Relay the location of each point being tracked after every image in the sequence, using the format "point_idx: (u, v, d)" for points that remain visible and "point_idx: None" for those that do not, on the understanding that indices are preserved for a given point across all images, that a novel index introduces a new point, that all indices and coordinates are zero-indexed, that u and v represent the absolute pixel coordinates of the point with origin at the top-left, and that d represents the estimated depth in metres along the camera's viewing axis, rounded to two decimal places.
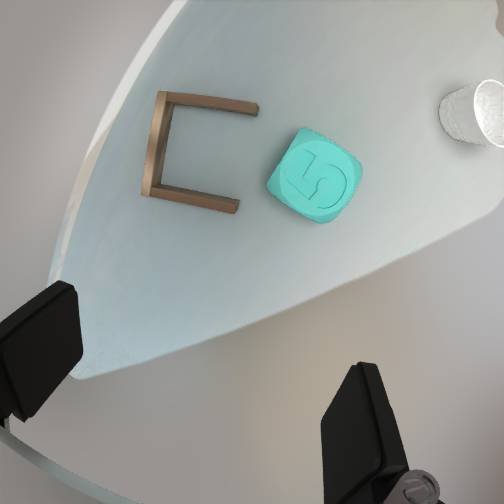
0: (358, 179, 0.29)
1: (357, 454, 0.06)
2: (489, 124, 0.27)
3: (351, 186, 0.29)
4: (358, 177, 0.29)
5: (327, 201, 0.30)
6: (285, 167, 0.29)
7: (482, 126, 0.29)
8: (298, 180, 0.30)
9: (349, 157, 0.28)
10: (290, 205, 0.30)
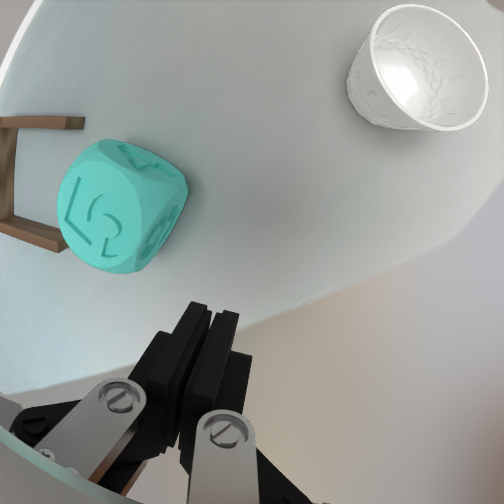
0: (153, 212, 0.19)
1: None
2: (436, 96, 0.17)
3: (137, 224, 0.19)
4: (153, 209, 0.19)
5: (115, 246, 0.20)
6: (60, 203, 0.19)
7: (426, 101, 0.19)
8: (79, 219, 0.20)
9: (132, 180, 0.18)
10: (74, 252, 0.20)
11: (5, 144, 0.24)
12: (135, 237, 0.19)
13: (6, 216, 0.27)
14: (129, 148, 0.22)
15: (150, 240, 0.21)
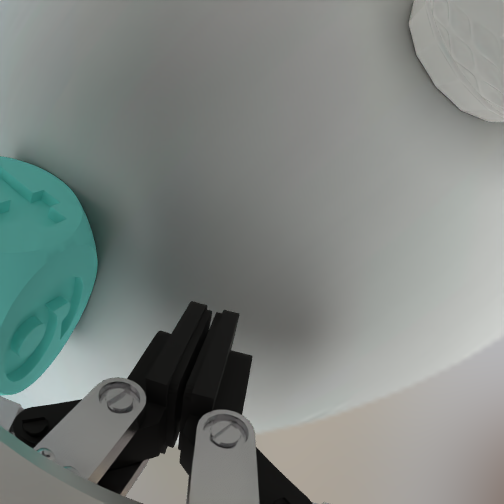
0: None
1: None
2: None
3: None
4: None
5: None
6: None
7: None
8: None
9: None
10: None
11: None
12: None
13: None
14: (0, 167, 0.10)
15: (21, 353, 0.08)
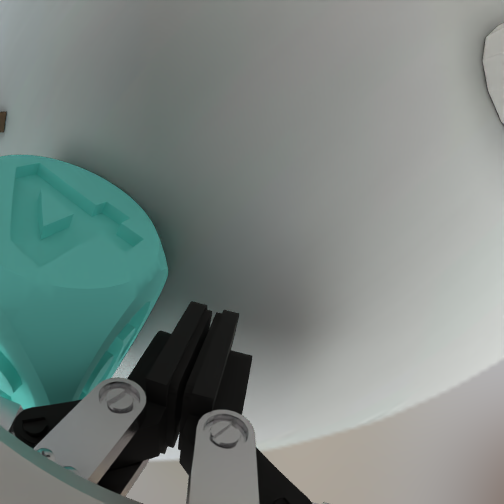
0: (69, 371, 0.06)
1: None
2: None
3: (40, 395, 0.06)
4: (67, 364, 0.06)
5: (23, 401, 0.07)
6: None
7: None
8: None
9: (1, 291, 0.05)
10: None
11: None
12: None
13: None
14: (48, 171, 0.09)
15: (89, 390, 0.08)
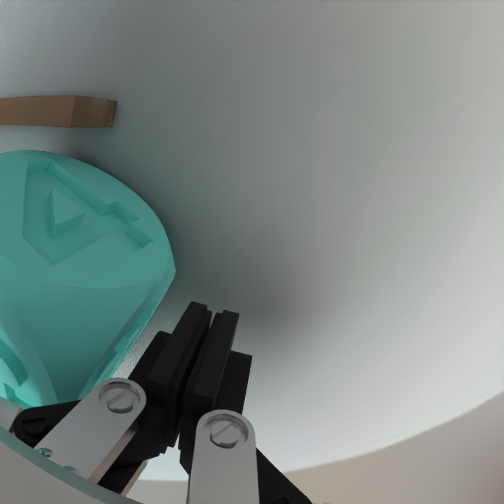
0: (78, 368, 0.06)
1: None
2: None
3: (48, 391, 0.06)
4: (77, 361, 0.06)
5: (27, 395, 0.07)
6: None
7: None
8: None
9: (14, 289, 0.05)
10: None
11: None
12: None
13: None
14: (59, 168, 0.10)
15: (94, 386, 0.09)
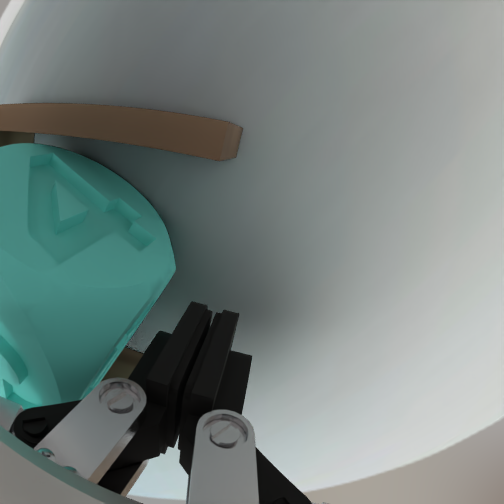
0: (83, 367, 0.06)
1: None
2: None
3: (51, 389, 0.06)
4: (82, 360, 0.06)
5: (26, 391, 0.07)
6: None
7: None
8: None
9: (20, 287, 0.05)
10: None
11: None
12: None
13: None
14: (61, 162, 0.10)
15: (93, 383, 0.09)
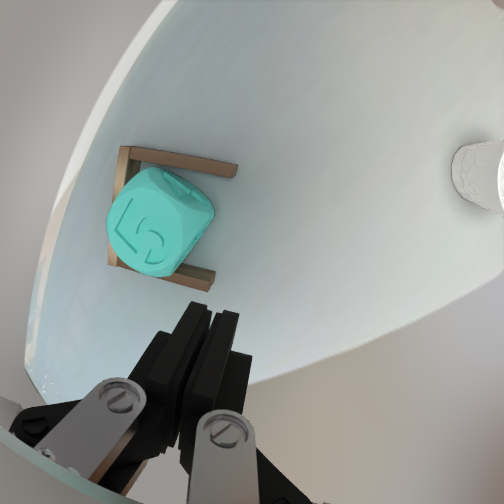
0: (191, 233, 0.26)
1: None
2: None
3: (179, 242, 0.26)
4: (191, 231, 0.26)
5: (156, 256, 0.27)
6: (112, 217, 0.26)
7: (499, 185, 0.25)
8: (127, 231, 0.26)
9: (178, 208, 0.25)
10: (119, 257, 0.27)
11: (131, 176, 0.30)
12: (176, 251, 0.26)
13: None
14: (168, 176, 0.29)
15: (184, 253, 0.28)
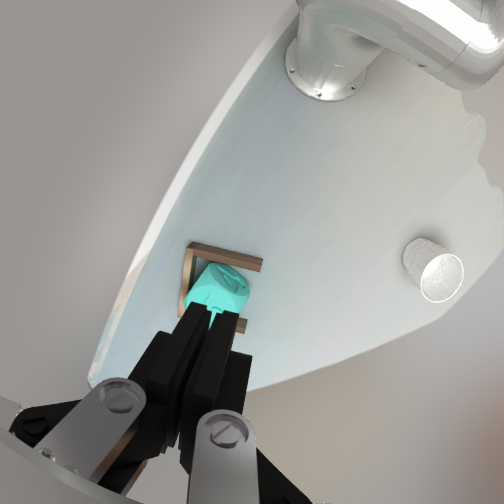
0: (239, 309, 0.46)
1: None
2: (442, 267, 0.44)
3: None
4: (239, 308, 0.46)
5: None
6: (190, 299, 0.46)
7: (437, 266, 0.45)
8: None
9: (232, 297, 0.45)
10: None
11: (193, 264, 0.50)
12: None
13: None
14: (220, 267, 0.49)
15: None
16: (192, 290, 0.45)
